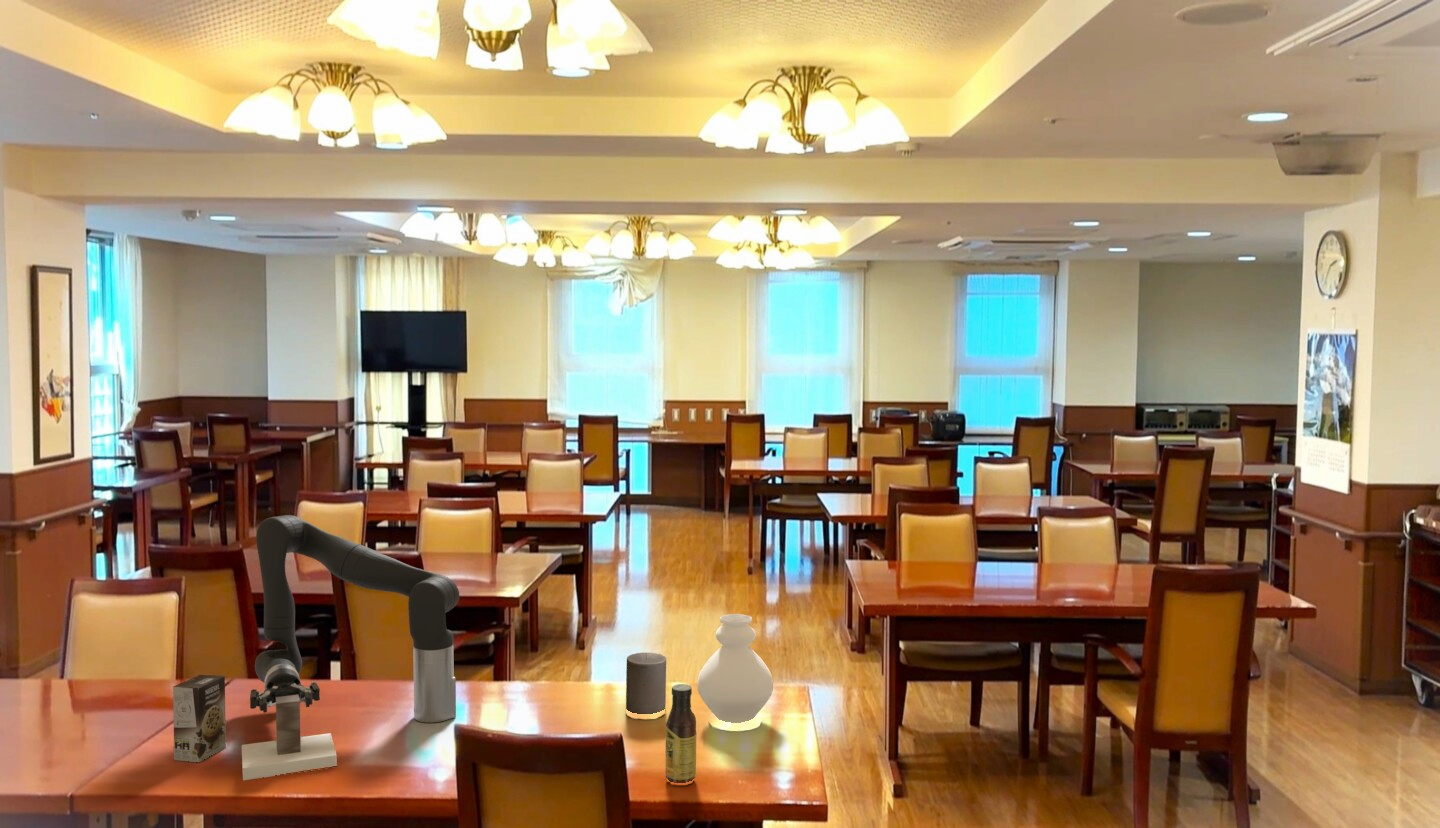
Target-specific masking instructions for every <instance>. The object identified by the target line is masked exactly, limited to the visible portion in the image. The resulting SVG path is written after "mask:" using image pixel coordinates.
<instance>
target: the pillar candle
mask: <svg viewBox="0 0 1440 828" xmlns="http://www.w3.org/2000/svg"><path fill="white" fill-rule="evenodd" d="M625 671H626V672H625V673H626V674H625V675H626V680H625V681H626V683H625V684H626V685H625V687H626V691H625V698H626V699H625V710H626V709H627V710H628V711H630V712H632V713H637V714H653V713H657V712H660V711H662V710H664V709H665V710H666V706H667V705H666V703H667V702H666V701H667V699H666V698H667V657H666V656H665V655H664V654H661V653H657V652H636V653H632V654H630V655H628V656H627V657H626V670H625Z"/></svg>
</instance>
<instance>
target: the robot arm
mask: <svg viewBox="0 0 1440 828" xmlns="http://www.w3.org/2000/svg"><path fill="white" fill-rule="evenodd" d="M255 535H256V537H255V541H256V548H257V555H258V561H259V568H260V575H261V581H262V589H263V590H262V591H263V637H264V638H265V639H266V640H267V641H269V642H277V643H281V644H284V645H285V646H286V648H283V649H271V650H265V651H262V652H260V653H259V654H258V656H256V659H255V662H254V670H255V675H256V677H258V679H259V680H260V681H261V682H262V683H264V691H261V692H260V691H259V690H257V689H254V688H253V689H251V690H250V697H249V708H250V709H251V710H254V709H257V707H259V711H261V712H262V711H263V714H264V713H267V712H268V708H269V707H270V708H271V707H274V706H276V697H282V696H290V695H299V700H300V704H301V703H304V705H305V708H310V707H311V705H313V701H315V702H318V701H320V700H321V697H320V695H321V694H320V693H321V692H320V691H321V689H320V687H319V685H318V682H315V681H313V682H311V683H310V684H309V686H304V685H302V682H301V679H300V673H301V671H302V669H303V659H302V656H301V654H300V650H299V649H300V648H299V647H298V642H297V636H296V604H295V599H294V596H293V593H292V590H291V587H290V585H289V582H288V580H287V578H288V577H287V573H286V558H287V554H289V553H293V554H298V555H302V556H304V557H308V558H309V559H310V558H311V559H313V560H316V561H317V562H319V563H321V564H322V565H323V566H324V567H325V568H326V569H327V570H328V571H329V572H330V573H331V574H332V575H333V576H335V577H337V578H338V579H340V580H342V581H345V582H347V583H349V584H352V585H355V586H357V587H359V588H363V589H367V590H373V591H380V592H390V593H396V594H400V595H403V596H406V597H408V602H407V603H408V604H407V605H408V607H407V608H408V623H409V625H408V626H409V627H408V628H409V634H410V636H411V639H412V645H413V646H412V647H413V648H412V649H413V652H412V653H413V658H412V659H413V662H412V663H413V718H414V720H416V721H417V722H420V723H421V722H422V723H439V722H444V721H447V720H450V719H454V718H456V717H457V689H456V688H457V686H456V684H457V683H456V682H457V681H456V680H457V679H456V676H455V674H454V669H455V667H454V665H455V664H454V661H455V660H454V633H453V632H452V631H451V630H450V629H447V621H446V619H447V618H446V613H448V612H450V611H452V610H453V609H454V608H455V607H456V606H457V604H458V603H459V601H460V591H459V587H458V586H457V584H456V583H455V582H454V581H453V580H452V579H450V578H449V577H448V576H446V575H442V574H440V573H435V572H433V571H429V570H425V569H422V568H419V567H418V568H417V567H415V566H412V565H410V564H407V563H404V562H402V561H400V560H397V559H396V558H393V557H390V556H389V555H385V554H383V553H381V552H379V551H377V550H375V549H372V548H370V547H367V546H364V545H362V544H360V543H356V542H353V541H351V540H349V539H347V538H343V537H340V536H337V535H334V534H332V533H329V532H327V531H324V530H323V529H321V528H319V527H317V526H315V525H313V524H311V523H310V522H308V521H306V520H304V519H303V518H301V517H298V516H296V515H293V514H285V515H278V516H272V517H271V516H270V517H268V518H265V519H264V520H262V521H261V522H260V523H259V525H258V527H257V529H256V534H255Z"/></svg>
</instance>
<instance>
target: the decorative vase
mask: <svg viewBox="0 0 1440 828" xmlns="http://www.w3.org/2000/svg"><path fill="white" fill-rule="evenodd" d="M719 622H720V623H721V624H722V625H720V627H718V628H717V630H716V632H715V638H716V640H717V642H719V644H720V645H721V646H720V647H719V648H718V649H717V651H715V652H714V653H713V654H712V655H711V656H710V657H709V658H708V660H707V661H706V662H705V663H704V665H703V667H702V668H701V670H700V672H699V674H698V677H697V678H698V679H697V684H696V685H697V692H698V695H699V696H700V698H701V700H702V701H703V703H704V704H705V705H706V706H707V708H708V709H709V710H710V711H711V713H712V715H715V716H716V717H717V718H718V719H719V720H722V721H725V722H731V723H741V722H745V721H749V720H751V719H753V718H754V717H755V716H756V715H757V716H758V713H759V712H760V711H761V710H762V709H763V707H765V705H766V704H767V702H768V701H769V699H771V696H772V694H773V691H774V679H773V676H772V673H771V670H769V668H768V666H767V665H766V663H765V662H764V660H763V659H762V658H761V657H760V656H759V655H758V654H757V653H756V652H755V651H754V649H753V648H752V647H750V645H752V643H753V642H755V639H756V638H757V634H756V630H755V629H754V628H753V627H752V626H750V624H751V623H752V622H753V617H752V616H751V615H747V614H741V613H729V614H724V615H723V614H722V615H721V616H720V617H719Z"/></svg>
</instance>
